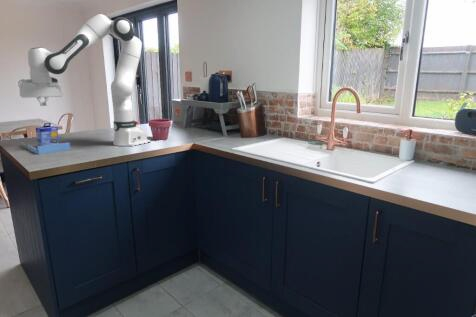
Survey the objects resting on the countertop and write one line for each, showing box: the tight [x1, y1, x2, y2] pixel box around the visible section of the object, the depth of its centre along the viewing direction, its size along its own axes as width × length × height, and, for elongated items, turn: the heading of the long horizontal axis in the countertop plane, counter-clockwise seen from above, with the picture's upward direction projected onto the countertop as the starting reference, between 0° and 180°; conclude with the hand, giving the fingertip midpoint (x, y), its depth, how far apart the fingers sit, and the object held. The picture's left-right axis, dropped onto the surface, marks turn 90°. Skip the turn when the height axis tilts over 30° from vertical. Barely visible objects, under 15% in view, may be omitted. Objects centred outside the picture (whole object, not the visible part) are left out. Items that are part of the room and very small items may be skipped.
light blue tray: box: [19, 141, 71, 155], centre depth 187 cm, size 16×31×4 cm, turn 47°
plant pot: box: [148, 118, 172, 141], centre depth 215 cm, size 14×14×13 cm
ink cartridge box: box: [35, 122, 60, 147], centre depth 185 cm, size 10×6×14 cm, turn 147°
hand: (43, 105), depth 177 cm, fingers closed
